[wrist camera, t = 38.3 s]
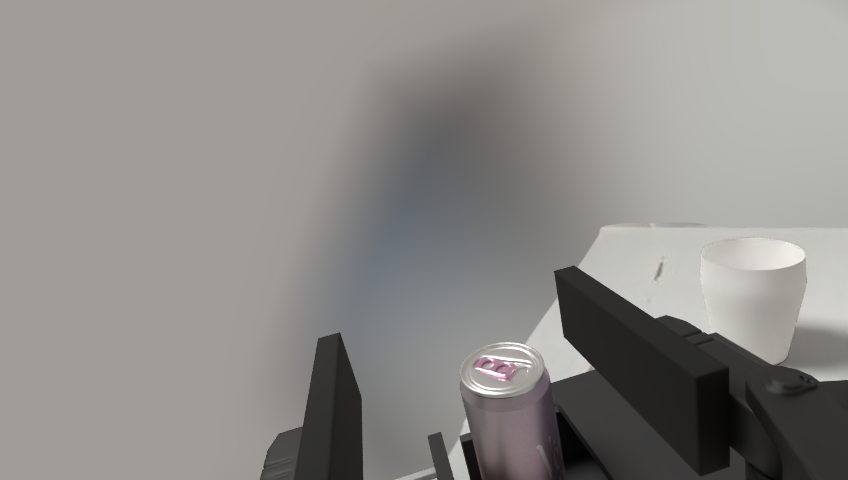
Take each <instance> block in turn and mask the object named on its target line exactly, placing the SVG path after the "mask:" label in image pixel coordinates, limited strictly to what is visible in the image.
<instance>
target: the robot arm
mask: <svg viewBox="0 0 848 480" xmlns="http://www.w3.org/2000/svg"><path fill="white" fill-rule="evenodd" d="M554 273H555V280H556V287H557V294H558V300H559V307H560V314H561V321H562V328H563V334H564V337H565V338H566V339H567V340H568V341H569V342H570V343H571V344H572V346H573V347H574V348H575V349H576V350H577V351H578V352H579V353H580V354H581V355H582V356H583V357H584V358H585V359H586V360H587V361H588V362H589V363H590V364H591V365H592V366H593V367H594V368H595V369H596V370H597V371H598V372H599V373H600V374H601V375H602V376H603V377H604V378H605V379H606V381H607V382H608V383H609V384H610V385H611V386H612V387H613V388H614V389H615V390H616V391H617V392H618V393H619V394H620V395H621V396H622V397H623V398H624V399H625V400H626V401H627V402H628V403H629V404H630V405H631V406H632V407H633V408H634V409H635V410H636V411H637V412H638V413H639V414H640V415H641V417H642V418H643V419H644V420H645V421H646V422H647V423H648V424H649V425H650V426H651V427H652V428H653V429H654V430H655V431H656V432H657V433H658V434H659V435H660V436H661V437H662V438H663V439H664V440H665V441H666V442H667V443H668V444H669V445H670V446H671V447H672V448H673V449H674V450H675V452H676V453H677V454H678V455H679V456H680V457H681V458H682V459H683V460H684V461H685V462H686V463H687V464H688V465H689V466H690V467H691V468H692V469H693V470H694V471H695V472H696V473H697V474H698V475H699V476H700V477H701V476H704V475H707V474H710V473H713V472H716V471H719V470H722V469H725V468H728V467H730V446H731V447H732V448H733V449H734V450H735V451H736V452H738V453H739V454H740V455H741V456H742V457H743V458H745V480H848V380H841V381H824V382H819V381H818V380H817V379H815V378H814V377H812V376H811V375H808V374H806V373H804V372H801V371H799V370H796V369H792V368H787V367H783V366H763V367H761V366H760V365H758V364H756V363H755V362H753V361H751V360H750V359H748V358H746V357H745V356H743V355H741V354H740V353H738V352H736V351H735V350H733V349H731V348H730V347H728V346H726V345H725V344H723V343H721V342H720V341H718V340H714V338H713V337H711V336H710V335H708V334H706V333H705V332H703V333H702V331H701V330H700V329H698V328H696V327H695V326H693V325H691V324H690V323H688V322H686V321H684V320H680V319H677V318H674V317H671V316H667V315H665V316H662V317H659V318H656V319H655V318H653V317H652V316H650V315H649V314H647V313H645V312H644V311H642V310H641V309H639V308H638V307H636V306H635V305H633V304H632V303H630V302H629V301H627V300H626V299H624V298H623V297H621V296H620V295H618V294H616V293H615V292H613V291H612V290H610V289H609V288H607V287H606V286H604V285H603V284H601V283H600V282H598V281H597V280H595V279H594V278H592V277H591V276H589V275H588V274H586V273H584V272H583V271H581V270H580V269H578V268H577V267H575V266H571V267H567V268H564V269H560V270H557V271H554ZM362 451H363V448H362V399H361V394H360V392H359V388H358V385H357V382H356V380H355V377H354V373H353V370H352V367H351V364H350V362H349V358H348V355H347V352H346V349H345V346H344V343H343V340H342V337H341V334H340V333H336V334H333V335H329V336H325V337H322V338H319V339H318V343H317V348H316V354H315V360H314V366H313V371H312V377H311V383H310V389H309V395H308V400H307V406H306V412H305V418H304V424H303V427H299V428H296V429H293V430H289V431H286V432H283V433H280V434H279V435H278V436H277V437H276V439H275V440H274V442H273V443H272V445H271V446H270V448H269V449H268V451H267V455H266V459H265V463H264V466H263V467H264V470H262V474H261V478H260V480H363V454H362V453H363V452H362Z"/></svg>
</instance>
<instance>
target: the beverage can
mask: <svg viewBox="0 0 848 480" xmlns="http://www.w3.org/2000/svg"><path fill="white" fill-rule="evenodd" d="M460 379H461V381H460V391H461V395H462V399H463V403H464V407H465V412H466V416H467V420H468V424H469V428H470V432H471V436H472V440H473V444H474V448H475V452H476V457H477V461H478V465H479V469H480V473H481V477H482V480H567V479H566V473H565V467H564V461H563V455H562V449H561V443H560V437H559V431H558V425H557V418H556V412H555V406H554V400H553V394H552V388H551V382H550V376H549V373H548V371H547V369H546V367H545V364H544V360H543V358H542V356H541V355H540V354H539V353H538V352H537V351H536V350H535V349H533V348H531V347H529V346H527V345H524V344H520V343H513V342H502V343H495V344H490V345H487V346H484V347H482V348H479V349H477V350H476V351H474V352H472V353H471V354H470V355H469V356H468V357H467V358H466V359H465V360H464V361H463V363H462V365H461V367H460Z"/></svg>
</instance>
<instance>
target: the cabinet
mask: <svg viewBox="0 0 848 480" xmlns="http://www.w3.org/2000/svg"><path fill="white" fill-rule="evenodd" d="M709 335H710V336H711V337H713V338H714V340H718V341H720V342H721V343H723V344H725V345H726V346H728V347H730V348H731V349H733V350H735V351H736V352H738V353H740V354H741V355H743V356H745V357H746V358H748V359H750V360H751V361H753V362H755V363H756V364H758V365H760V366H761V367H763V366H773V365H771V364H770V363H768V362H766V361H765V360H763V359H761V358H759V357H758V356H756V355H754V354H753V353H751V352H749V351H747V350H746V349H744V348H742V347H741V346H739V345H737V344H735V343H734V342H732V341H730V340H729V339H727V338H725V337H723V336H722V335H720V334H718V333H717V332H715V333H712V334H709ZM551 388H552V394H553V400H554V406H557V408H558V409H559V411H560V412H561V413H562V415H563V416H564V418H565V419H566V420H567V422H568V423H569V425H570V426H571V428H572V429H573V430H574V432H575V433H576V435H577V436H578V437H579V439H580V440H581V442H582V443H583V445H584V446H585V447H586V449H587V450H588V452H589V453H590V454H591V456H592V457H593V459H594V460H595V462H596V463H597V464H598V466H599V467H600V469H601V470H602V471H603V473H604V474H605V476H606V477H607V478H608V480H745V458H743V457H742V456H741V455H740V454H739V453H738V452H736V451H735V450H734V449H733V448H732V447H731V446H730V467H728V468H725V469H722V470H719V471H716V472H713V473H710V474H707V475H704V476H701V477H700V476H699V475H698V474H697V473H696V472H695V471H694V470H693V469H692V468H691V467H690V466H689V465H688V464H687V463H686V462H685V461H684V460H683V459H682V458H681V457H680V456H679V455H678V454H677V453H676V452H675V450H674V449H673V448H672V447H671V446H670V445H669V444H668V443H667V442H666V441H665V440H664V439H663V438H662V437H661V436H660V435H659V434H658V433H657V432H656V431H655V430H654V429H653V428H652V427H651V426H650V425H649V424H648V423H647V422H646V421H645V420H644V419H643V418H642V417H641V415H640V414H639V413H638V412H637V411H636V410H635V409H634V408H633V407H632V406H631V405H630V404H629V403H628V402H627V401H626V400H625V399H624V398H623V397H622V396H621V395H620V394H619V393H618V392H617V391H616V390H615V389H614V388H613V387H612V386H611V385H610V384H609V383H608V382H607V381H606V379H605V378H604V377H603V376H602V375H601V374H600V373H599V372H598V371H597V370H592V371H589V372H586V373H583V374H579V375H576V376H573V377H570V378H566V379H563V380H560V381H557V382H553V383H551Z"/></svg>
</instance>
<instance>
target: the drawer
mask: <svg viewBox="0 0 848 480" xmlns="http://www.w3.org/2000/svg"><path fill="white" fill-rule="evenodd" d="M555 412H556V418H557V425H558V431H559V437H560V443H561V449H562V455H563V461H564V467H565V473H566V479H567V480H608V478H607V477H606V476H605V474H604V473H603V471H602V470H601V469H600V467H599V466H598V464H597V463H596V462H595V460H594V459H593V457H592V456H591V454H590V453H589V452H588V450H587V449H586V447H585V446H584V445H583V443H582V442H581V440H580V439H579V437H578V436H577V435H576V433H575V432H574V430H573V429H572V428H571V426H570V425H569V423H568V422H567V420H566V419H565V418H564V416H563V415H562V413H561V412H560V411H559V409H558V408H557V406H555ZM428 440H429V445H430V449H431V453H432V458H433V462H434V467H433V468H430V469H427V470H424V471H421V472H417V473H414V474H411V475H408V476H405V477H402V478H399V479H396V480H431V479H435V478H437V480H454V478H453V474H452V470H451V467H450V463H449V460H448V456H447V452H446V449H445V445H444V441H443V438H442V434H441V432H439V433H436V434H433V435H430V436H428ZM460 441H461V445H462V449H463V453H464V457H465V461H466V465H467V468H468V472H469V476H470V480H482V477H481V473H480V469H479V465H478V461H477V457H476V452H475V448H474V444H473V440H472V436H471V433H467V434H464V435H461V436H460Z"/></svg>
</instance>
